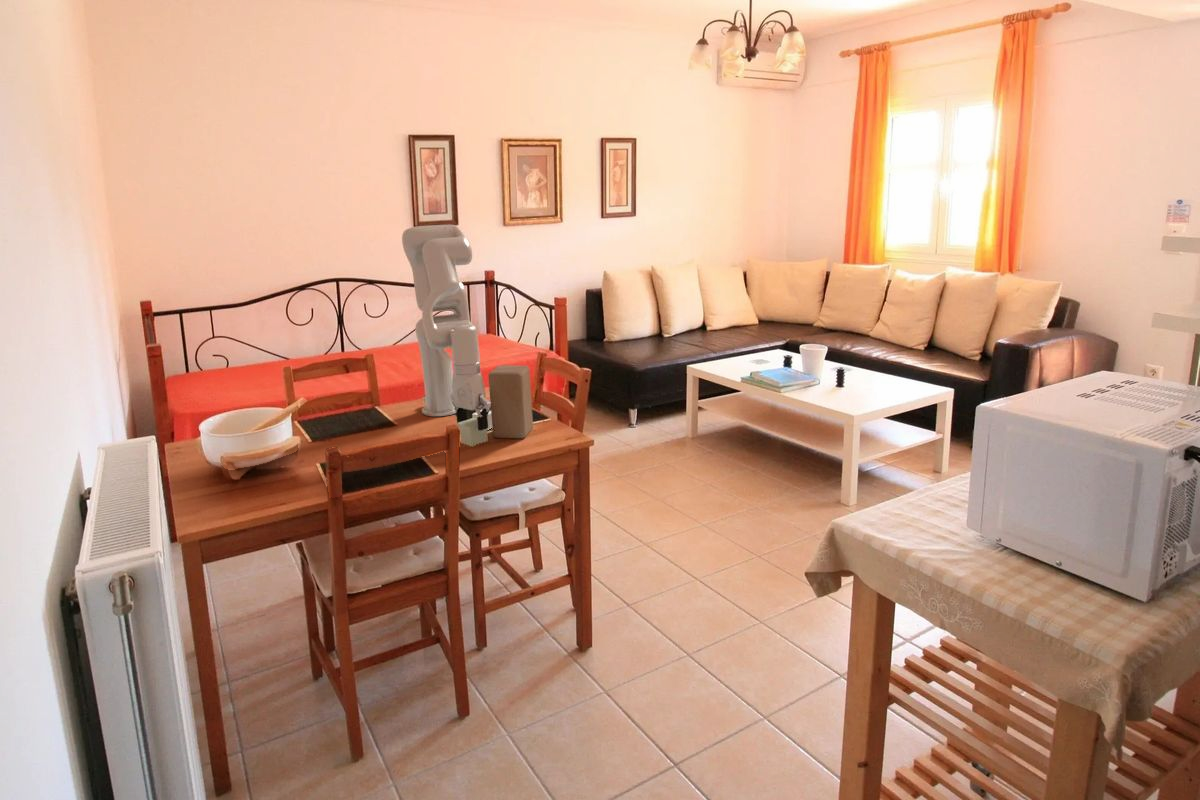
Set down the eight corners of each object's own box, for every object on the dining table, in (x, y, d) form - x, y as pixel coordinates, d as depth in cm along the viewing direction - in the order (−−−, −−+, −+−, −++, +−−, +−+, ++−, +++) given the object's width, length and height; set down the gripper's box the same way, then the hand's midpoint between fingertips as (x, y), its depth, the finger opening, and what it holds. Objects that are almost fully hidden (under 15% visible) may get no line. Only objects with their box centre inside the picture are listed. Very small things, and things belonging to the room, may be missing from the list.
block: (524, 439, 220) (520, 373, 214) (492, 438, 222) (486, 373, 216) (534, 428, 230) (530, 364, 224) (502, 427, 232) (498, 364, 226)
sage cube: (458, 442, 220) (456, 423, 218) (475, 437, 224) (473, 417, 223) (471, 447, 216) (469, 427, 214) (487, 441, 220) (486, 421, 219)
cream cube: (473, 429, 231) (472, 414, 229) (483, 424, 235) (481, 409, 234) (486, 431, 229) (485, 416, 227) (496, 426, 233) (495, 411, 231)
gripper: (438, 367, 217) (444, 424, 221) (475, 375, 205) (481, 435, 210) (459, 362, 222) (464, 418, 227) (497, 369, 211) (502, 428, 215)
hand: (472, 426), depth 218 cm, fingers open, 9 cm apart
